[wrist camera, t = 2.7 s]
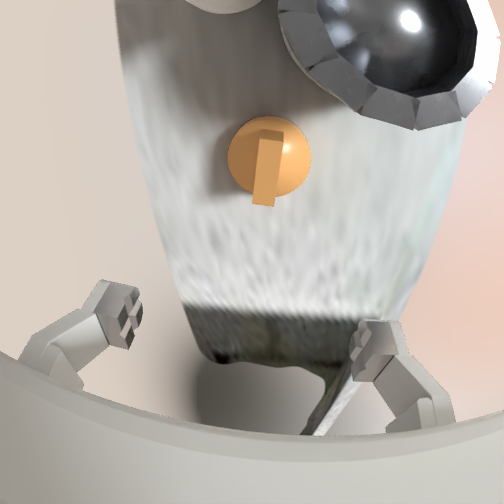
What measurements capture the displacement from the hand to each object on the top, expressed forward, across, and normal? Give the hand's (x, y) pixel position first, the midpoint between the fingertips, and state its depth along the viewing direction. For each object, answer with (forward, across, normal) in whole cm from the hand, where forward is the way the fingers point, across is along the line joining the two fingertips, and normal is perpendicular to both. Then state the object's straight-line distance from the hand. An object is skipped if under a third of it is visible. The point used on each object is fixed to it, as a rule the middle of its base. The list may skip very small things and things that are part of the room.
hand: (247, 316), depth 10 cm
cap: (+18, 0, 0) cm, 18 cm away
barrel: (+17, -6, -12) cm, 22 cm away
